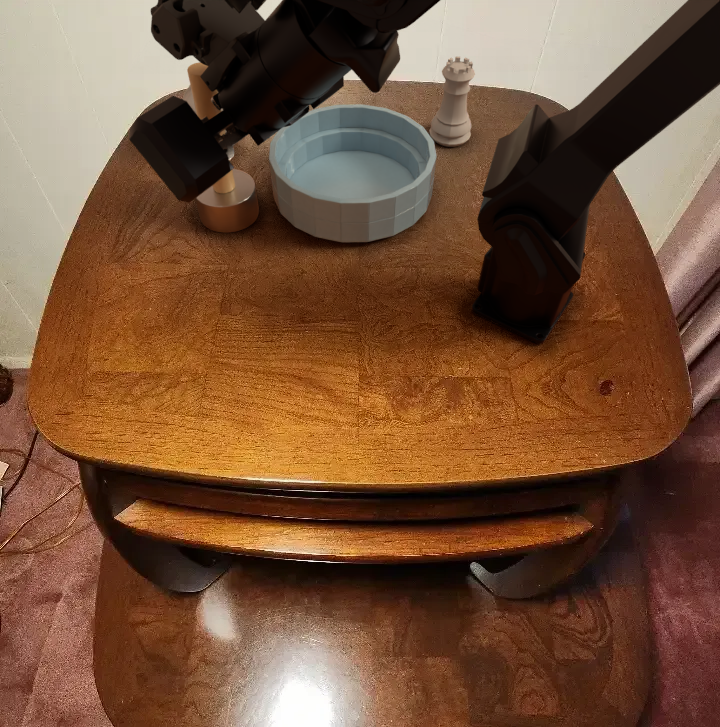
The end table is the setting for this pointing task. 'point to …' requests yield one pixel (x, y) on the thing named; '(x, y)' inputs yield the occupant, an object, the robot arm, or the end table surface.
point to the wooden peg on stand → (236, 189)
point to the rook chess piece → (453, 105)
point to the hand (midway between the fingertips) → (205, 146)
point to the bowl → (352, 172)
